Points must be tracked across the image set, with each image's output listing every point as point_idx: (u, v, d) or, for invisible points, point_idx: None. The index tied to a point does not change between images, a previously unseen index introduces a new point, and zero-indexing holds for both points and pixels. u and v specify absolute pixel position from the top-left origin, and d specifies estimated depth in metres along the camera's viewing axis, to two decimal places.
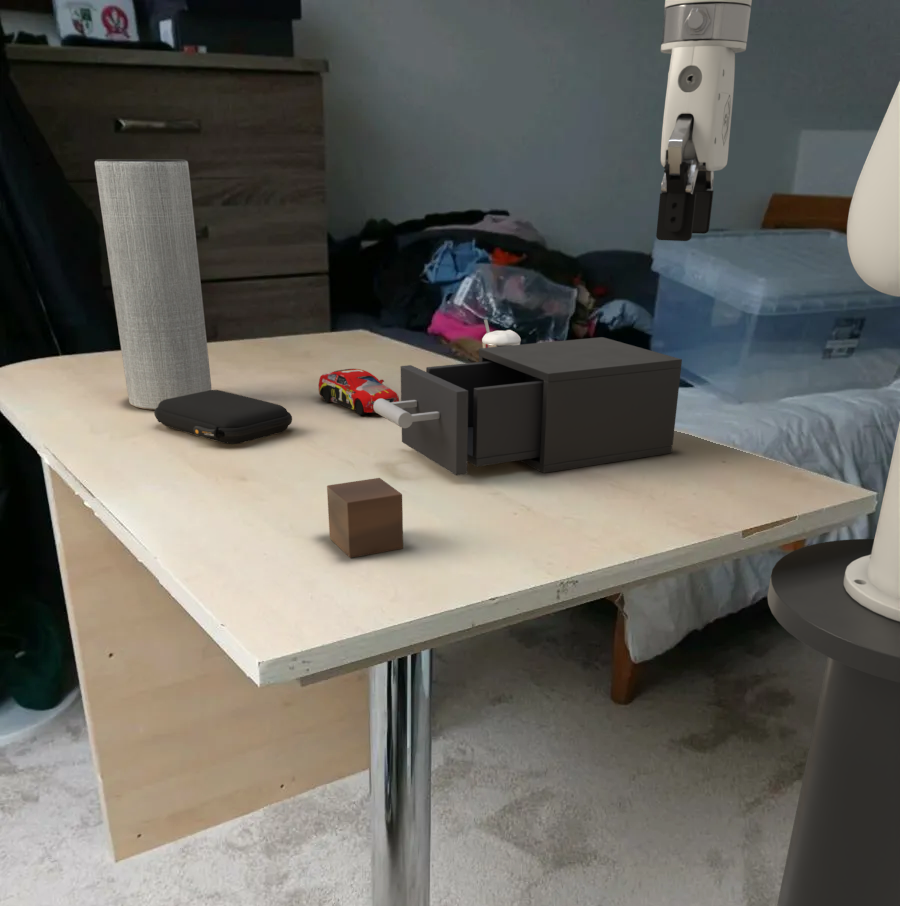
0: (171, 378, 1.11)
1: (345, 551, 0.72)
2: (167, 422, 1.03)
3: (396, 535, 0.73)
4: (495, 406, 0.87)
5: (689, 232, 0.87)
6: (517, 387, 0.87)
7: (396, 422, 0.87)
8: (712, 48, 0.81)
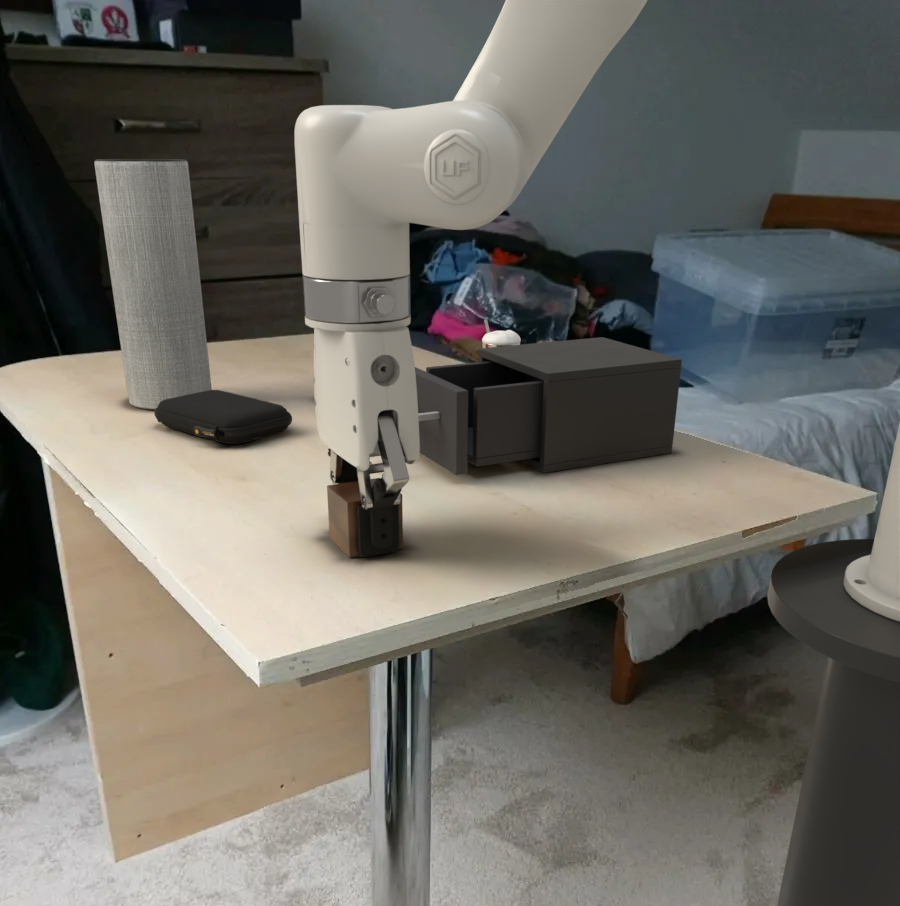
0: (171, 378, 1.11)
1: (345, 551, 0.72)
2: (167, 422, 1.03)
3: None
4: (495, 406, 0.87)
5: (397, 542, 0.72)
6: (517, 387, 0.87)
7: None
8: (403, 333, 0.64)
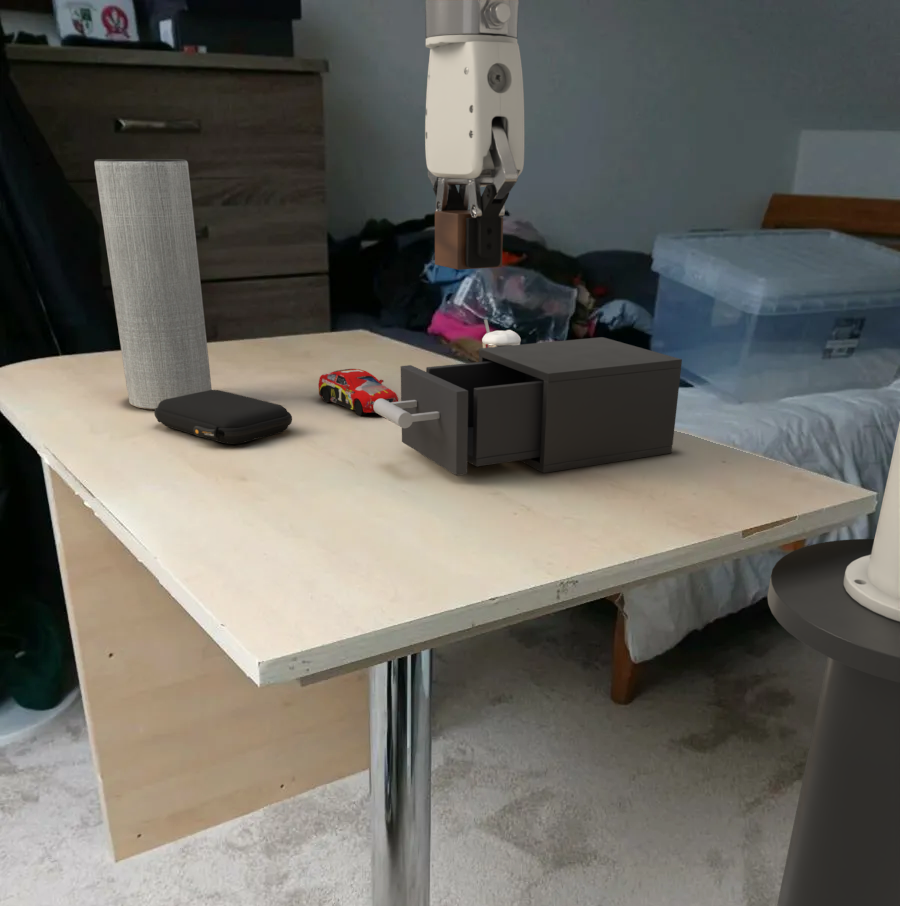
0: (171, 378, 1.11)
1: (452, 265, 0.82)
2: (167, 422, 1.03)
3: None
4: (495, 406, 0.87)
5: (498, 257, 0.82)
6: (517, 387, 0.87)
7: (396, 422, 0.87)
8: (514, 45, 0.74)
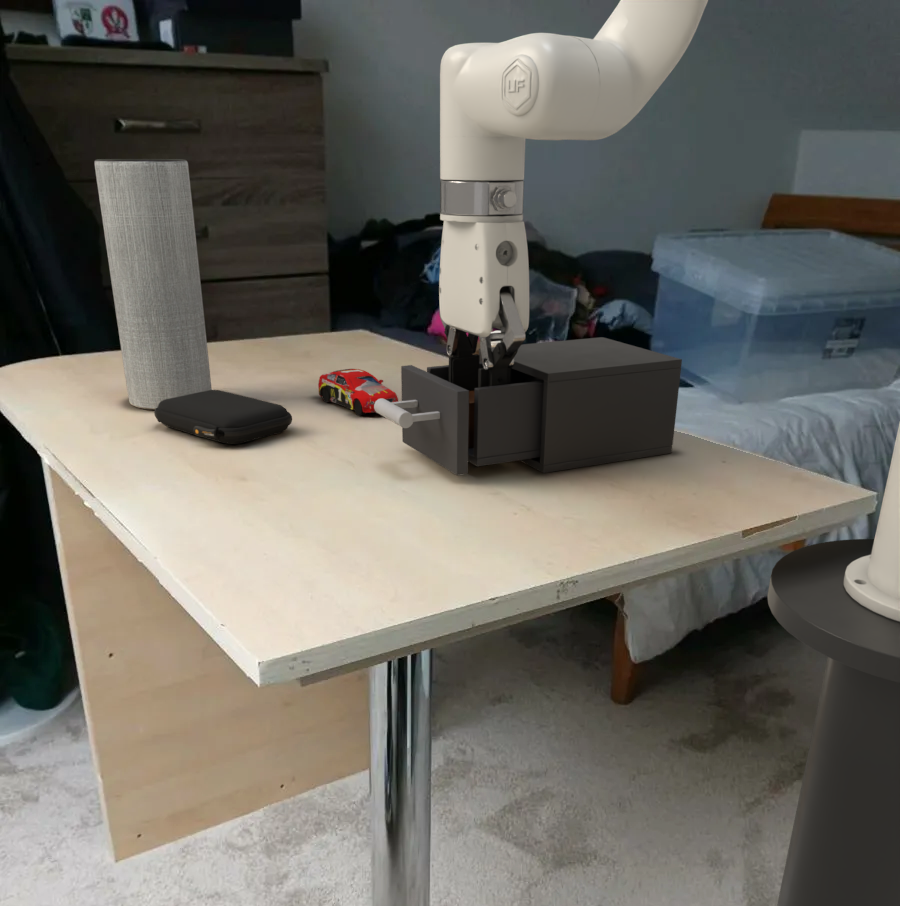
0: (171, 378, 1.11)
1: None
2: (167, 422, 1.03)
3: None
4: (496, 406, 0.87)
5: None
6: (518, 387, 0.87)
7: (397, 422, 0.87)
8: (520, 224, 0.83)
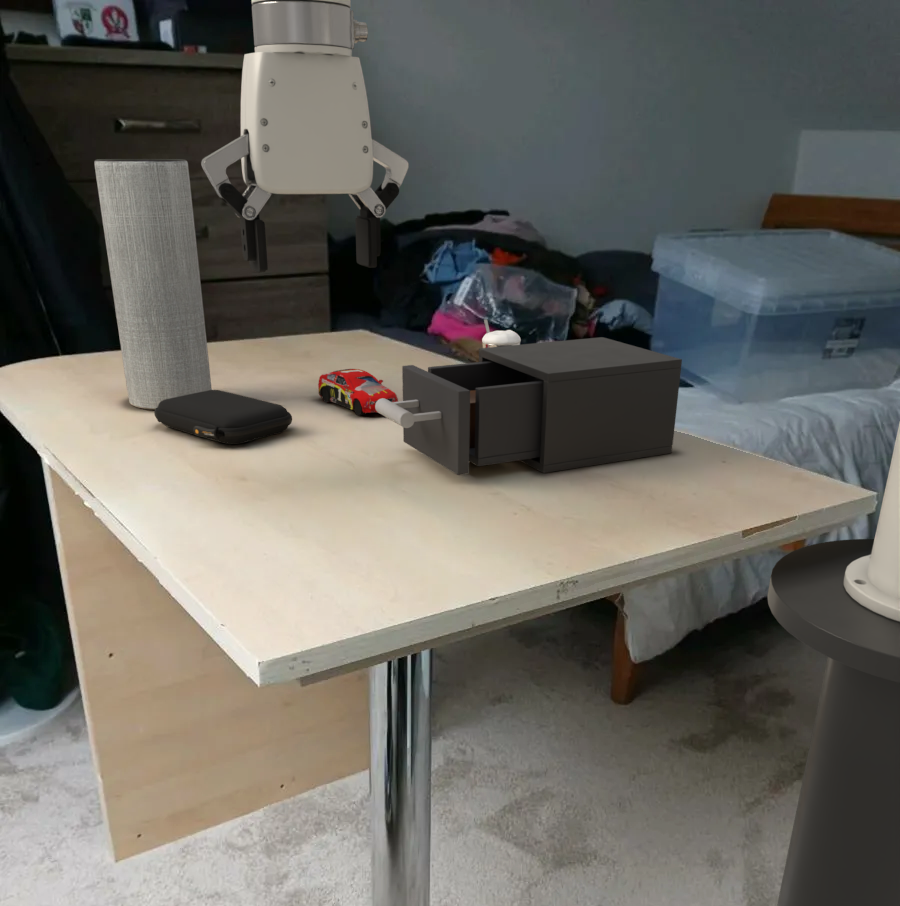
0: (171, 378, 1.11)
1: None
2: (167, 422, 1.03)
3: None
4: (497, 405, 0.87)
5: None
6: (519, 387, 0.88)
7: (398, 422, 0.87)
8: None
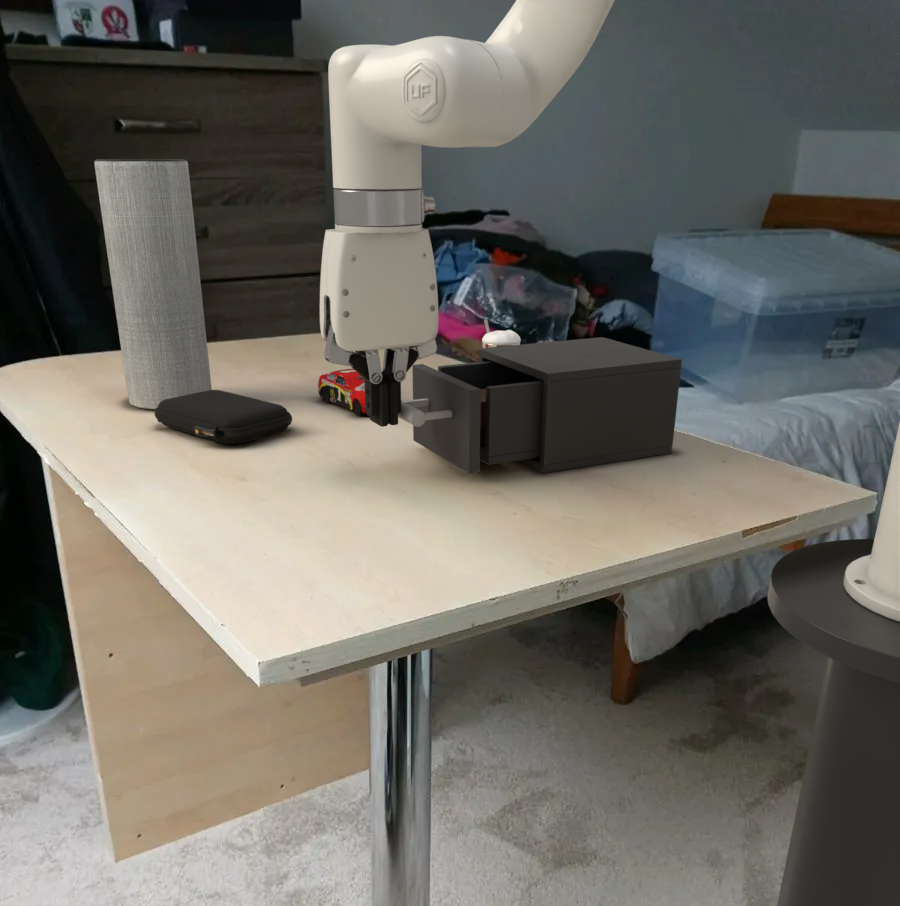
0: (171, 378, 1.11)
1: None
2: (167, 422, 1.03)
3: None
4: (507, 404, 0.88)
5: None
6: (529, 385, 0.88)
7: (409, 420, 0.87)
8: None
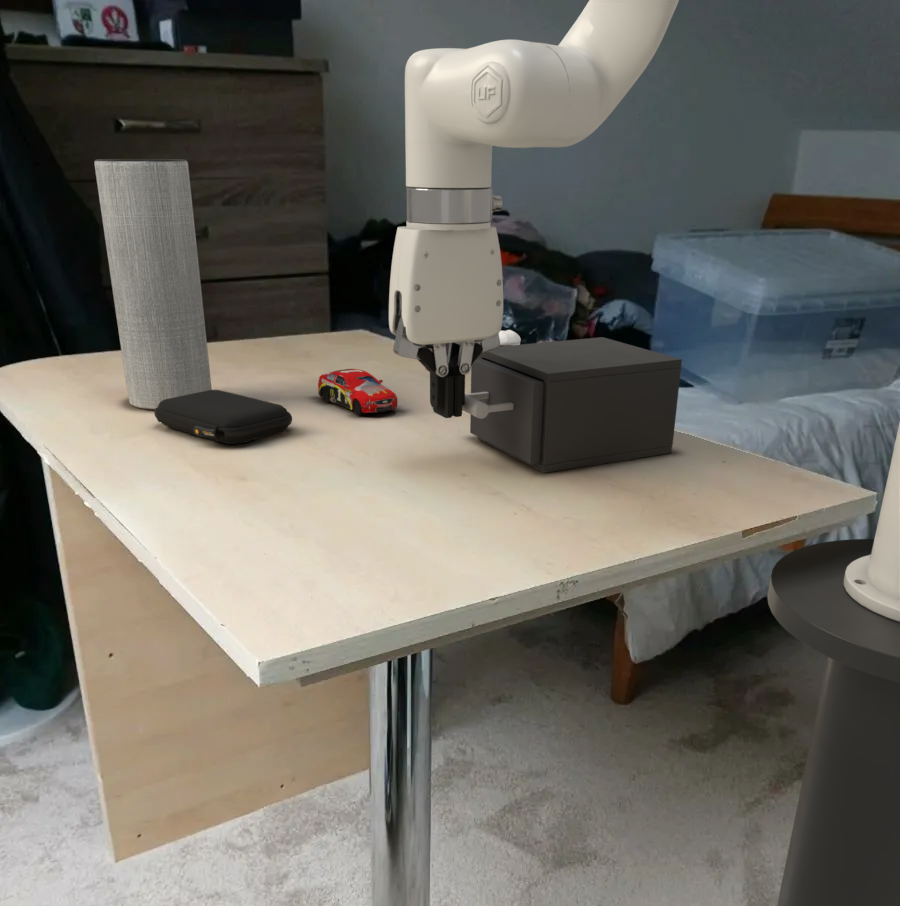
0: (171, 378, 1.11)
1: None
2: (167, 422, 1.03)
3: None
4: None
5: None
6: None
7: (473, 413, 0.90)
8: None
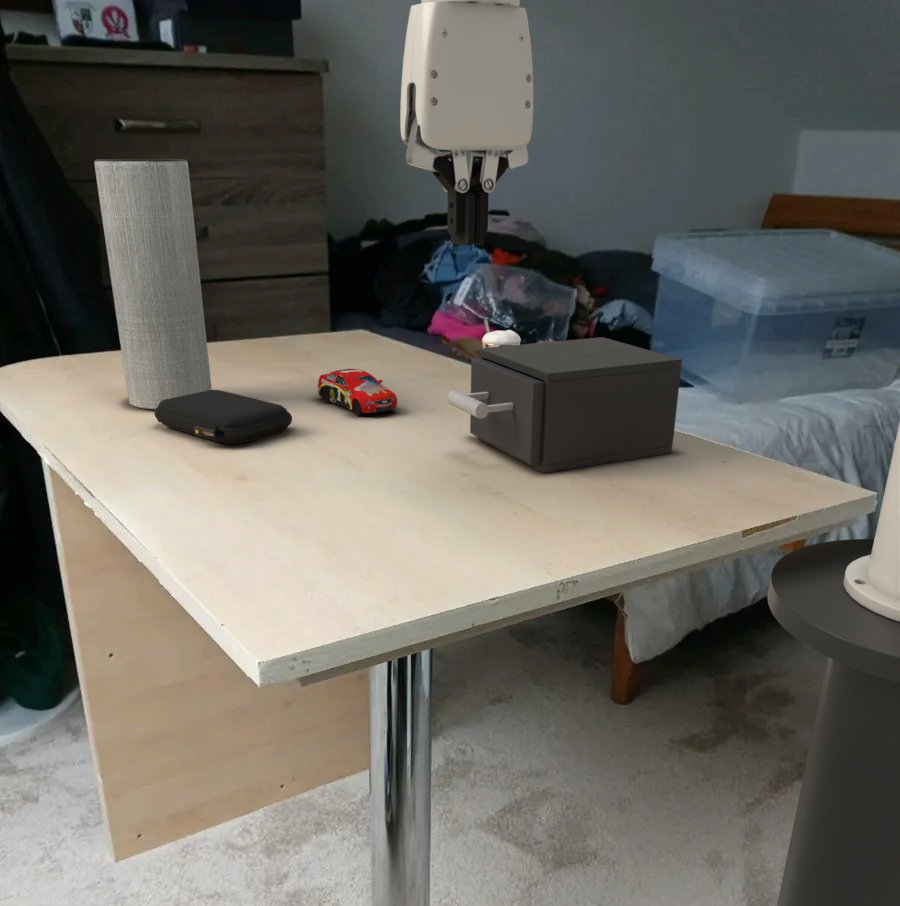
0: (171, 378, 1.11)
1: None
2: (167, 422, 1.03)
3: None
4: None
5: None
6: None
7: (473, 413, 0.90)
8: None
